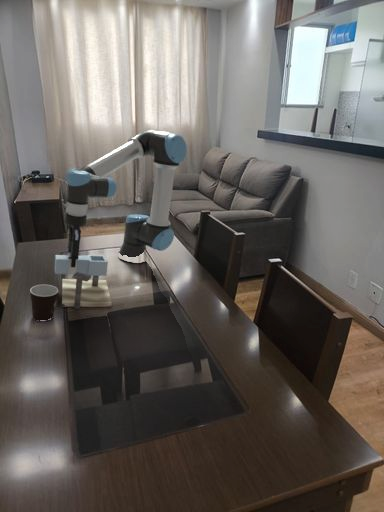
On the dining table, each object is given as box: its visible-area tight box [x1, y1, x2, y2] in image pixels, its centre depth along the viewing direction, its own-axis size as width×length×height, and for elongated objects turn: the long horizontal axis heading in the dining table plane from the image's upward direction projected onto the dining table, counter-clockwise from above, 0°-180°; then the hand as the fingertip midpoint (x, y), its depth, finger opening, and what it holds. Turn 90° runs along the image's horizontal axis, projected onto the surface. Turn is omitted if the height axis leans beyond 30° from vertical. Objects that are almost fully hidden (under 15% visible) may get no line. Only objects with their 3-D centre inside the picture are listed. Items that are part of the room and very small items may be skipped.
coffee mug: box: [29, 283, 59, 322], centre depth 121 cm, size 12×9×10 cm
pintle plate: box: [61, 260, 113, 310], centre depth 139 cm, size 22×18×12 cm
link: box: [53, 254, 109, 277], centre depth 141 cm, size 19×7×6 cm, turn 113°
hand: (71, 271), depth 140 cm, fingers closed on link, 4 cm apart
